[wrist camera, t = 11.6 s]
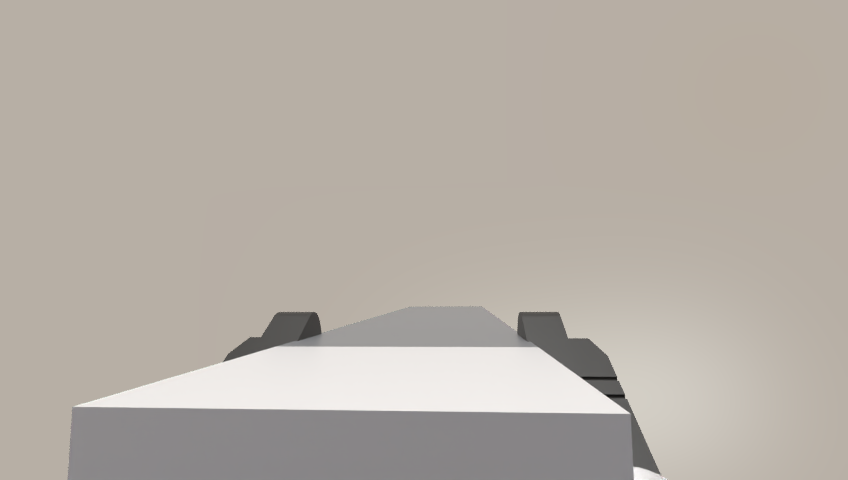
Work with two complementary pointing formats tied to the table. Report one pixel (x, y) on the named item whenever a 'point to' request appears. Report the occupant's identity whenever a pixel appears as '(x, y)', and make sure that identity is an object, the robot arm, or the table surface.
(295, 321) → the robot arm
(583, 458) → the grey rectangular bar
